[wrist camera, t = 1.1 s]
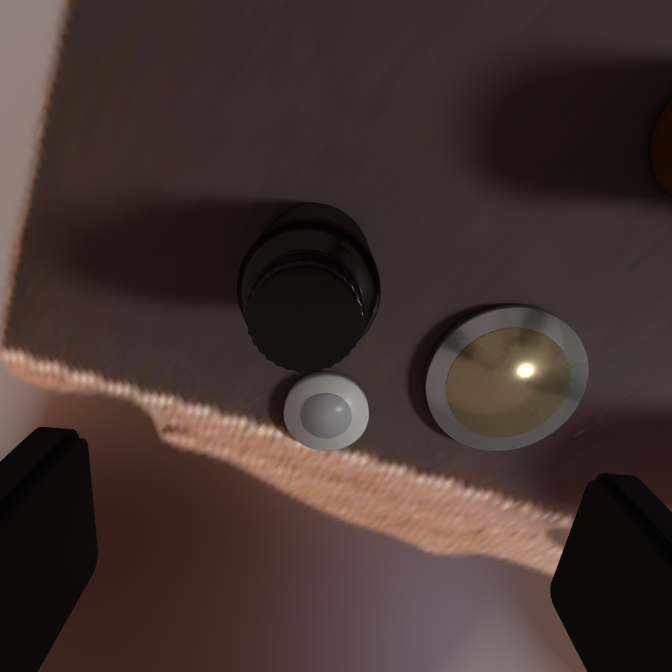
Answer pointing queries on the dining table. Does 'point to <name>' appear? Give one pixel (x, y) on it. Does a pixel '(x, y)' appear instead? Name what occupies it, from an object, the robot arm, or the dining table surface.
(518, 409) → the silver and gold coaster
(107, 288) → the dining table surface
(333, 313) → the supplement bottle
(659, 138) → the mug
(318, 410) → the plastic flange
